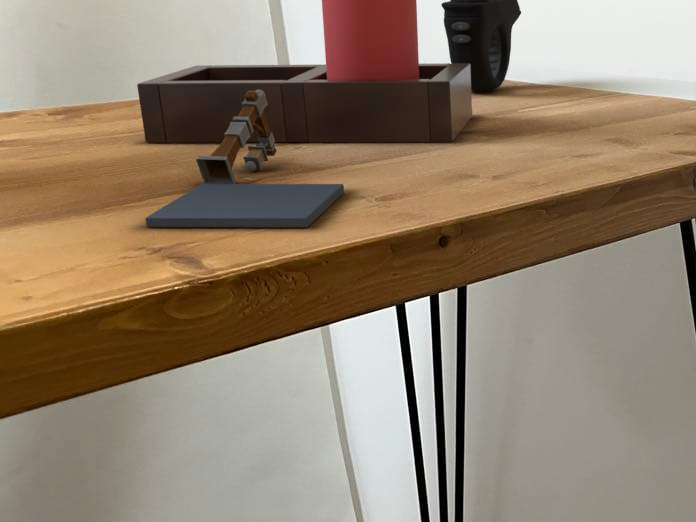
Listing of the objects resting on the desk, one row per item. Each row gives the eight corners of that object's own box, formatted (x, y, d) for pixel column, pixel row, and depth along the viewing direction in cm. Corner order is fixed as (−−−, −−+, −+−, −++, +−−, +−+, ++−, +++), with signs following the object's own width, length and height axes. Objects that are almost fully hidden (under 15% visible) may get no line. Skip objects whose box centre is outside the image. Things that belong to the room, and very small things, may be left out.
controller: (439, 98, 96) (433, -25, 93) (484, 81, 107) (480, -30, 103) (486, 99, 95) (482, -26, 91) (526, 82, 106) (524, -30, 102)
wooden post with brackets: (290, 144, 70) (271, 80, 67) (247, 222, 65) (224, 156, 62) (263, 143, 71) (243, 79, 67) (218, 221, 65) (194, 155, 62)
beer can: (437, 89, 81) (432, -91, 77) (379, 98, 76) (370, -94, 71) (368, 83, 84) (359, -89, 80) (308, 92, 79) (294, -92, 75)
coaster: (146, 227, 54) (144, 217, 54) (202, 192, 62) (201, 183, 61) (307, 227, 54) (306, 217, 54) (344, 192, 61) (343, 183, 61)
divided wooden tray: (145, 143, 77) (136, 83, 76) (202, 118, 88) (195, 65, 86) (452, 141, 76) (449, 81, 74) (472, 116, 86) (470, 63, 85)
